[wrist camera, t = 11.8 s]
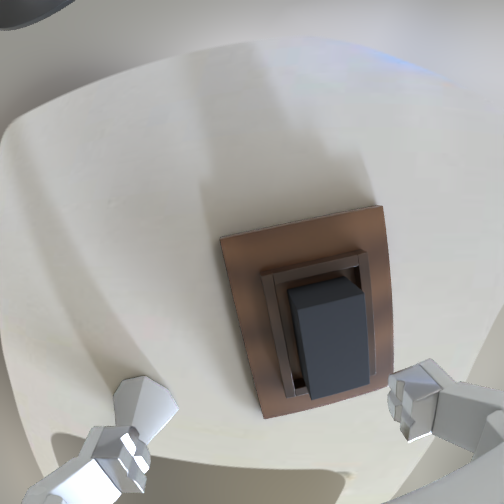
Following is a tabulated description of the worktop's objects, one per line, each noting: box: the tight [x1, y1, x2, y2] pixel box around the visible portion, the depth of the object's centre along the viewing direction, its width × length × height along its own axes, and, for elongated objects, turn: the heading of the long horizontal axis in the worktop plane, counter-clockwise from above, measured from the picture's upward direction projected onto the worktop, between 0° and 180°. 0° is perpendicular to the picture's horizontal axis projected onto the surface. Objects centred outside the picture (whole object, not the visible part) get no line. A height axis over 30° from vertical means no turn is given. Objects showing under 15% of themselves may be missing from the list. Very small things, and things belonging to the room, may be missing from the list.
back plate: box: [220, 205, 394, 419], centre depth 29 cm, size 20×15×3 cm
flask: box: [113, 376, 179, 445], centre depth 27 cm, size 7×7×10 cm
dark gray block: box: [287, 276, 370, 400], centre depth 27 cm, size 9×6×5 cm, turn 12°
